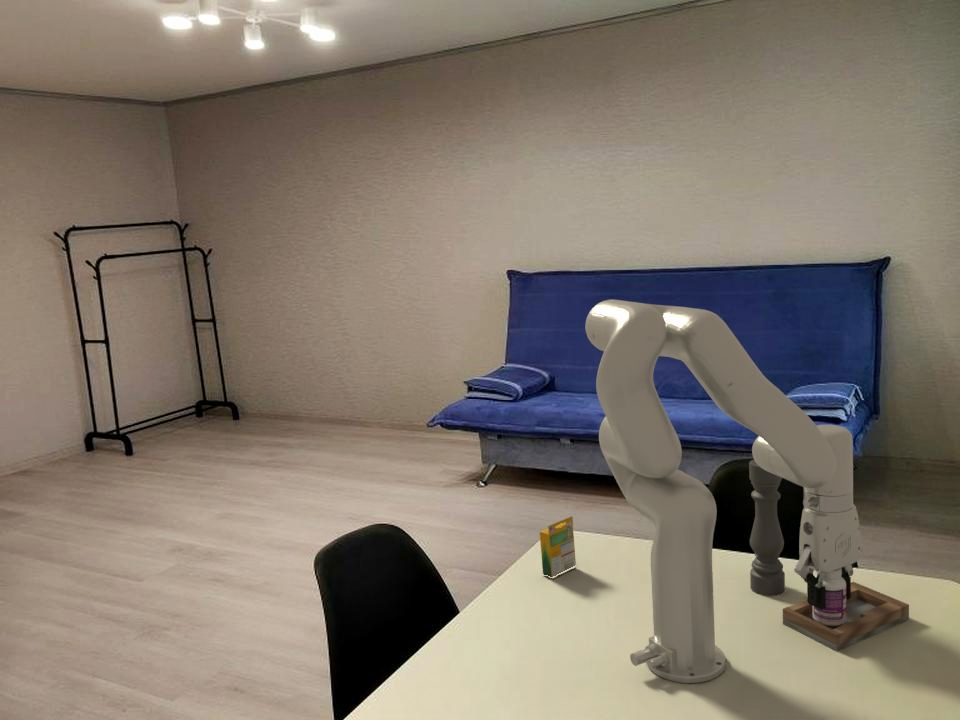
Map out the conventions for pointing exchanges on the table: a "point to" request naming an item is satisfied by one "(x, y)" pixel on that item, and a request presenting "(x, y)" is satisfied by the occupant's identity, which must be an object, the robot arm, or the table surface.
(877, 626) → the brown wooden tray
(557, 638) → the table surface
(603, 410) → the robot arm
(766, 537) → the candle holder
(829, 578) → the pill bottle
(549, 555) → the crayon box
